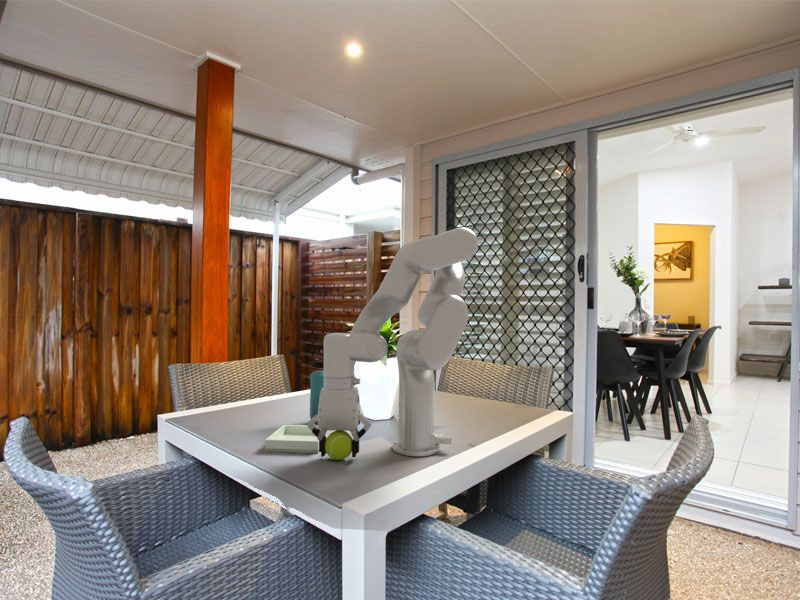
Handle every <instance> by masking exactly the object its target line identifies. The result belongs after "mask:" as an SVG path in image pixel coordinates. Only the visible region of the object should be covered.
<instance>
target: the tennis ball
mask: <svg viewBox="0 0 800 600" xmlns="http://www.w3.org/2000/svg"><path fill="white" fill-rule="evenodd" d="M352 441H353V436H352V435H351V433H350V432H348V431H337V430H333V431H331V434H330V435H329V436H328V437H327V439H326V441H325V450H326V454H327V456H328V457H329V458H331V459H332V460H335V461H343V460H346V459H347V458H348V457H350V456H351V455H352Z"/></svg>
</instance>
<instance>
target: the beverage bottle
mask: <svg viewBox="0 0 800 600" xmlns="http://www.w3.org/2000/svg"><path fill="white" fill-rule="evenodd" d="M313 369H324V360H315V361H313ZM309 376H310V388H309V389H310V390H309V392H310V393H309V394H310V398H309V420H311V419H312V418H313V417H314V416H315V415H317V414H318V407H319V398H320V393H321V389H322V388H323V387H324V370H315V371H312V372H311V374H310V375H309ZM316 422H318V420H317V421H316Z"/></svg>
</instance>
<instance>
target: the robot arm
mask: <svg viewBox="0 0 800 600" xmlns="http://www.w3.org/2000/svg"><path fill="white" fill-rule="evenodd" d="M478 243H479V241H478V236H477V235H476V233H475V232H474V231H473V230H471V229H469V228H468V227H464V226H463V227H457V228H453V229H450V230H447V231H443V232H440V233H438V234H436V235H432V236H429V237H425V238H420V239H417V240H414V241H409V242H407V243H405V244H403V245H402V246H401V247H400V248H399V249H398V250H397V252H396V254H395V256H394V258H393V260H392V262H391V265H390V266H389V268H388V270H387V271H386V274H385V276H384V278H383V279H382V281H381V284H380V286H379V288H378V289H377V291H376V292H375V293H374V294H373V296H371V298H370V300H369V301H368V302H367V304H366V305H365V306H364V308H363V309H362V310H361V312H360V313H359V315H358V317H357V319H356V320H355V322H354V324H353V327H352V328H351V330H350V332H349V333H348V332H333V333H330V332H329V333H327V334H326V335H325V336H324V337H323V361H324V368H323V371H324V387H323V388H322V389H321V393H320V398H319V407H318V414H317V415H315V416H314V417H313V418H312V419H309V420H308V421H307V422H306V425H307V426H308V427H309V428H310V430H311V431H312V433H313V434H314V435H315V436H316V437H317V439H318V440H319V453H320V457H322V458H323V457H325V456H326V454H327V453H326V450H325V441H326V439H327V438H326V437H325V434H326V432H327V430H331V431H345V432H348V431H349V433H350V435H351V437H352V439H353V441H352V452H351V457H352V459H353V458H354V459H355V458H356V457H357V454H359V453H360V439H362V437H363V436H364V435H365V434H366V432H367V431H369V429H370V428H371V427H372V424H373V423H372V421H370V420H369V419H368V418H367V417H366V416H364V415H363V414H362V412H361V401H360V394H359V388H358V387H355V386H357V385H360V384H361V378H357V377H356V376H355V362H361V363H375V362H379V361H380V360H382V359H384V357H385V356H386V354H387V352H388V347H389V346H388V343H387V342H388V341H387V340H386V339H385V338H384V336H382V335H381V333H380V332H381V331H382V328H384V326H385V324H386V323H387V322H388V321H389V320H390V318H392V317H393V316H394V315H396V314H397V313H399V312H400V311H402V310H403V309H404V308H405V307H406V306H407V305H408V303H409V302H410V300H411V298H412V295H413V294H414V292H415V289H416V287H417V285H418V283H419V281H420V279H421V277H422V276H423V274H425V273H430V272H434V271H435V274H434V277H433V280H432V282H431V285H430V286H429V288H428V290H427V293H426V294H425V296H424V297H423V300H422V301H421V304H420V306H419V307H418V311H417V319H418V321H419V323H420V324H421V325H422V326H423V327H425V329H424V330H422V329H412V330H407V331H406V332H403V334H402V335H400V337H399V339H398V341H397V344H396V359H397V360H396V361H397V367H398V432H397V433H398V439H397V440H395V441H393V442H392V450H393V451H394V452H395V453H397V454H399V455H404V456H407V457H426V456H432V455H435V454H437V453H439V451H441V450H440V449H441V445H452V436H447V434H438V433H436V429H435V389H436V388H435V386H436V385H435V384H436V383H435V374H434V371H438V370H440V369H442V368H444V366H445V365H447V364H448V362H449V361H450V359H451V358H452V356H453V353H454V352H455V349H456V348H457V347H458V346H457V345H458V343H459V341H460V339H461V337H462V334H463V333H464V331H465V329H466V327H467V324H468V320H469V308H468V306H467V303H466V302H465V301H464V299H463V298H462V297H461V294H462V292H463V289H464V288H465V284H466V273H465V269H464V266H463V262H465V261H468V259H471V258H472V257H473V256H475V254H476V253H477V250H478V248H479V247H478V246H479V244H478ZM317 420H318V421H317ZM316 422H317V425H316V424H315V423H316ZM361 424H363V427H362V428H361V429H360V430H359V428H358V427H359V425H361ZM316 426H318V427H319V428H320V429H321V430H320V429H319V428H318V427H316Z"/></svg>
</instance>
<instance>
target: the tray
mask: <svg viewBox="0 0 800 600" xmlns="http://www.w3.org/2000/svg"><path fill="white" fill-rule="evenodd" d="M316 427H318V425H316ZM318 428H319V427H318ZM319 429H320V428H319ZM320 430H321V429H320ZM331 433H332V430H327V432H326V434H325V437H326V438H327V437H328V436H329V435H330V434H331ZM264 452H270V453H271V452H273V453H275V452H277V453H295V454H299V453H302V454H303V453H304V454H319V453H320V452H319V440H318V439H317V437H316V436H315V435H314V434H313V433H312V431H311V430H310V428H309V427H308V426H307V424H306V425H303V424H282V425H281V426H280V427H279V428H278V429H277V430H275V431H274V432H273V433H271V434H270V435H269V436H268V437H267V438H266V439H265V440H264Z"/></svg>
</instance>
